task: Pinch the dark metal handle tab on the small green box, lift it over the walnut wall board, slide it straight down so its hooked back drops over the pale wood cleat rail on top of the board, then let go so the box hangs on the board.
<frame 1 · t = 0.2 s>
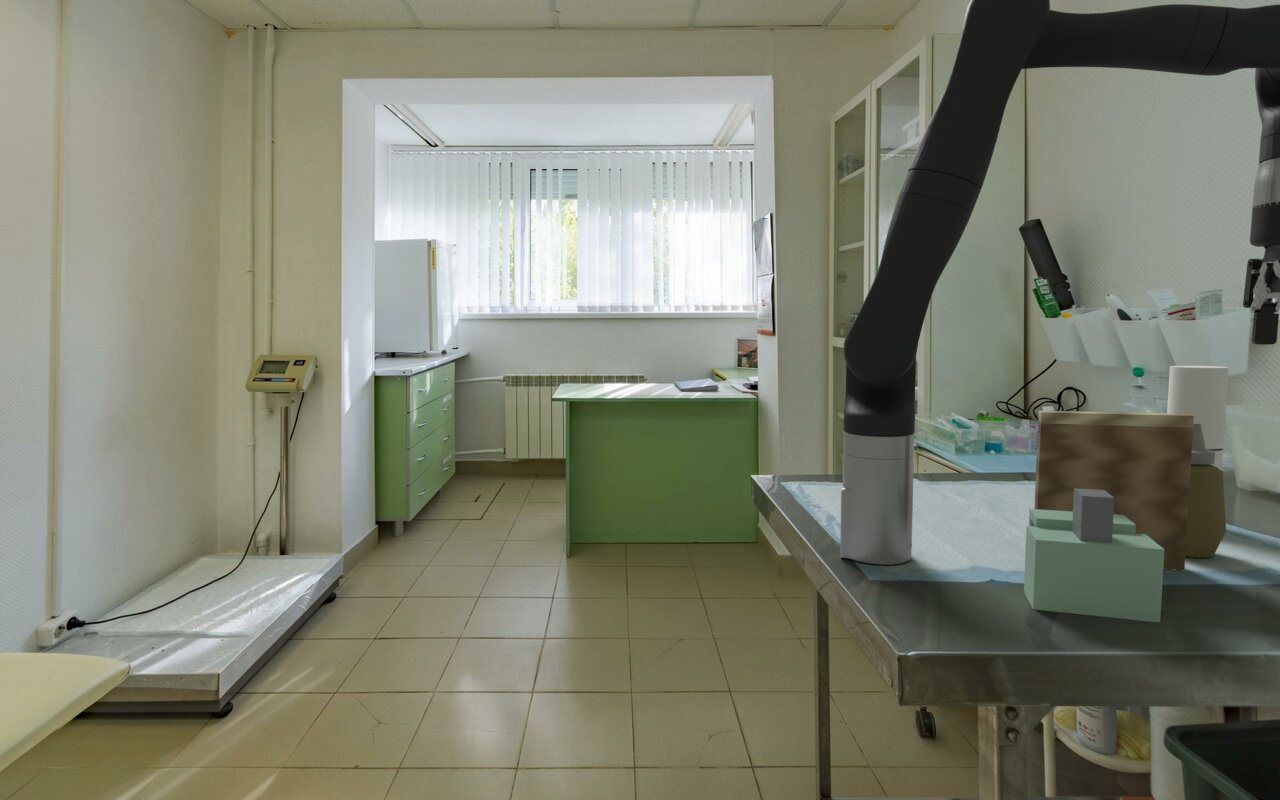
green box: (1087, 606, 81), on the table
wall board: (1105, 562, 96), on the table
squeeze bottle: (1187, 553, 100), on the table
cylindrical container: (1188, 527, 113), on the table
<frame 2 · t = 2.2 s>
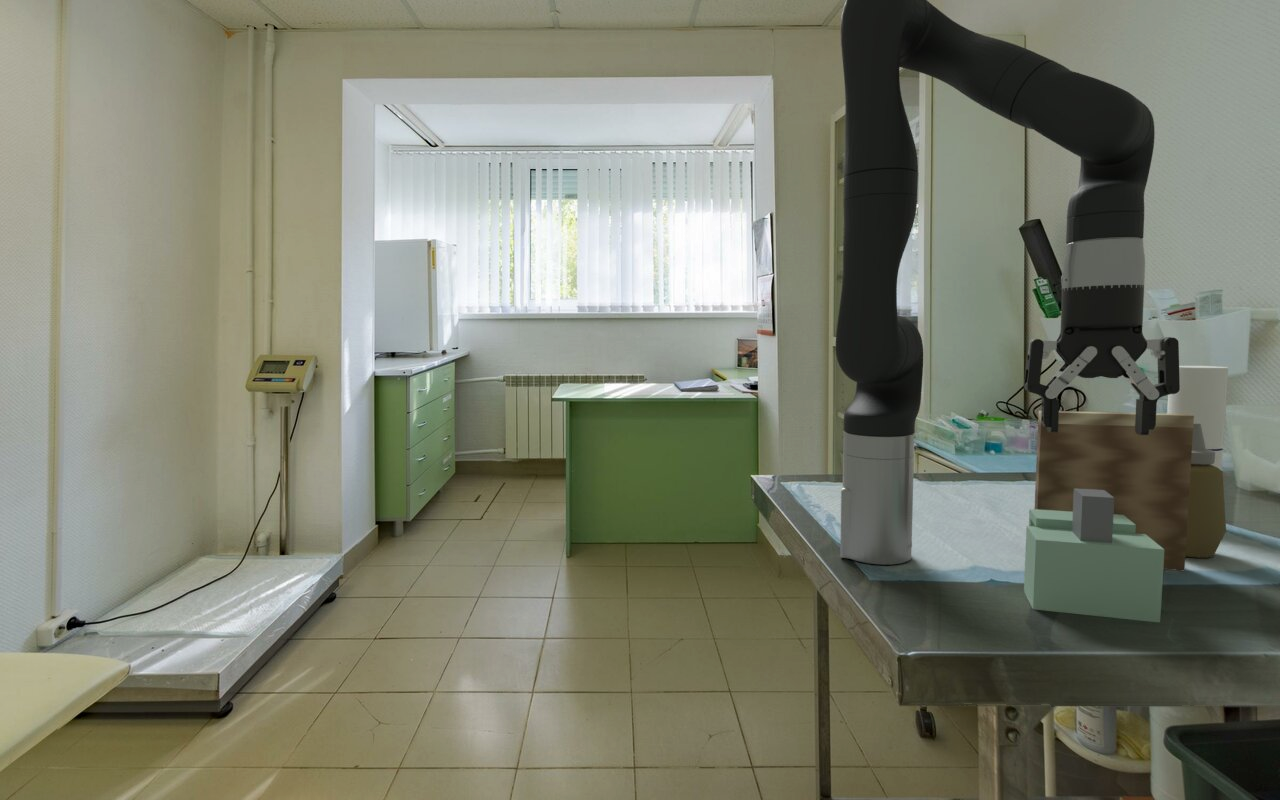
hand: (1096, 432, 80), 20 cm above the table, tool pointing down, fingers open, 8 cm apart
nothing on the table moved.
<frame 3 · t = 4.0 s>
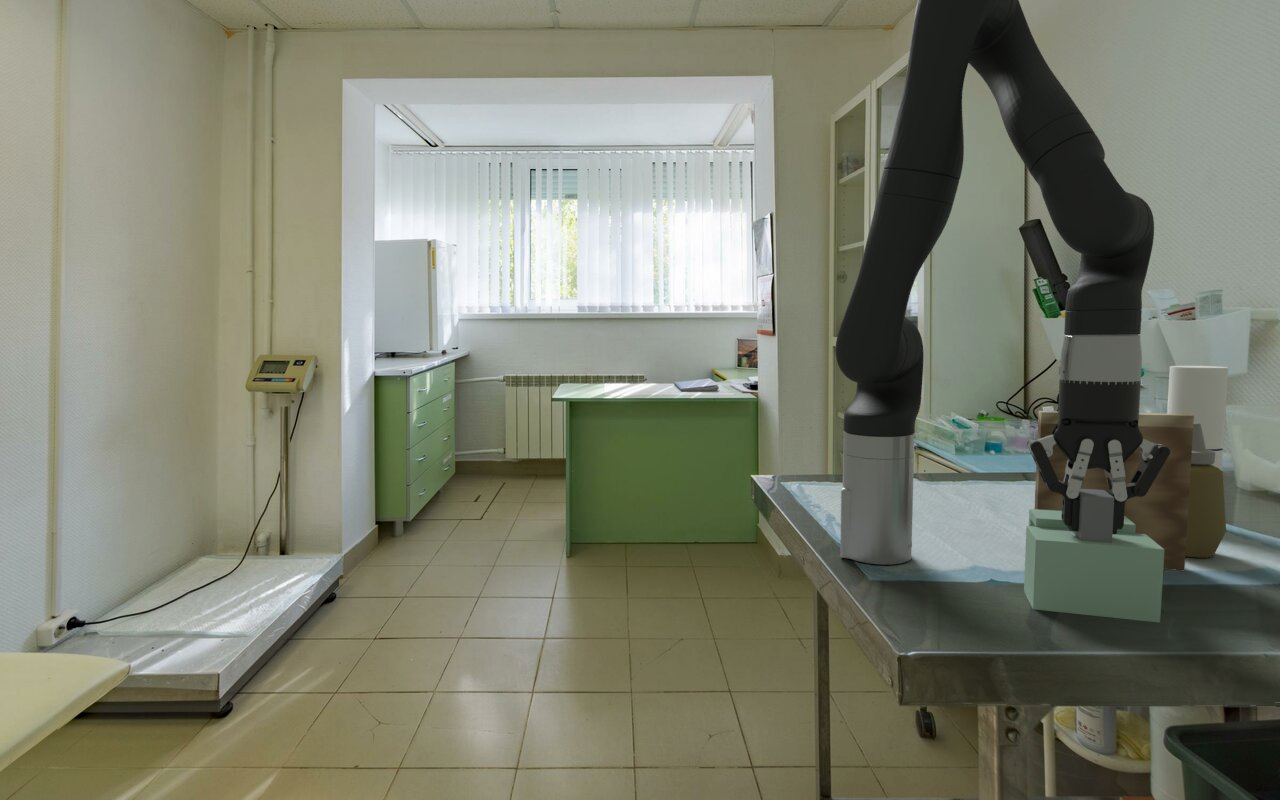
hand: (1091, 530, 81), 9 cm above the table, tool pointing down, fingers closed on green box, 3 cm apart
green box: (1087, 606, 81), on the table, touching gripper
everything else where it was.
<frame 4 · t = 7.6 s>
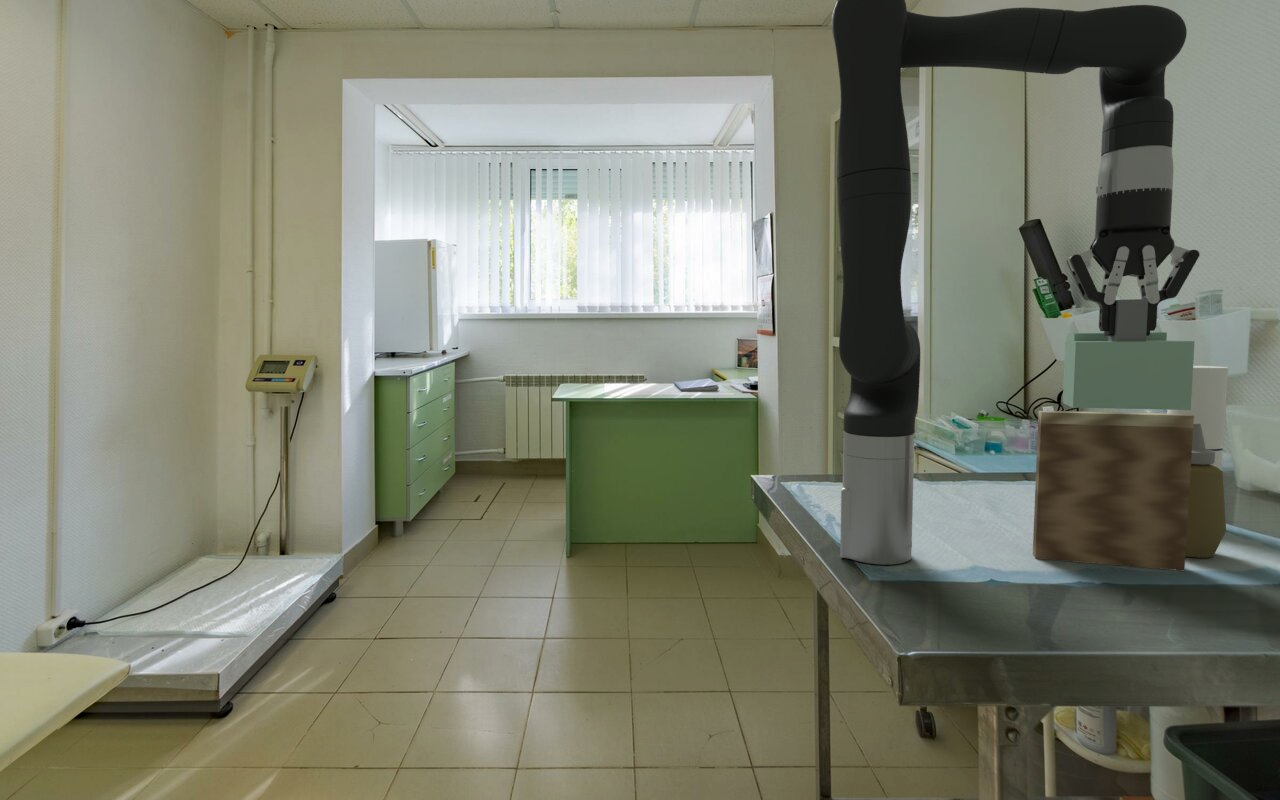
hand: (1126, 335, 88), 30 cm above the table, tool pointing down, fingers closed on green box, 3 cm apart
green box: (1123, 406, 89), point 21 cm above the table, touching gripper
everything else where it was.
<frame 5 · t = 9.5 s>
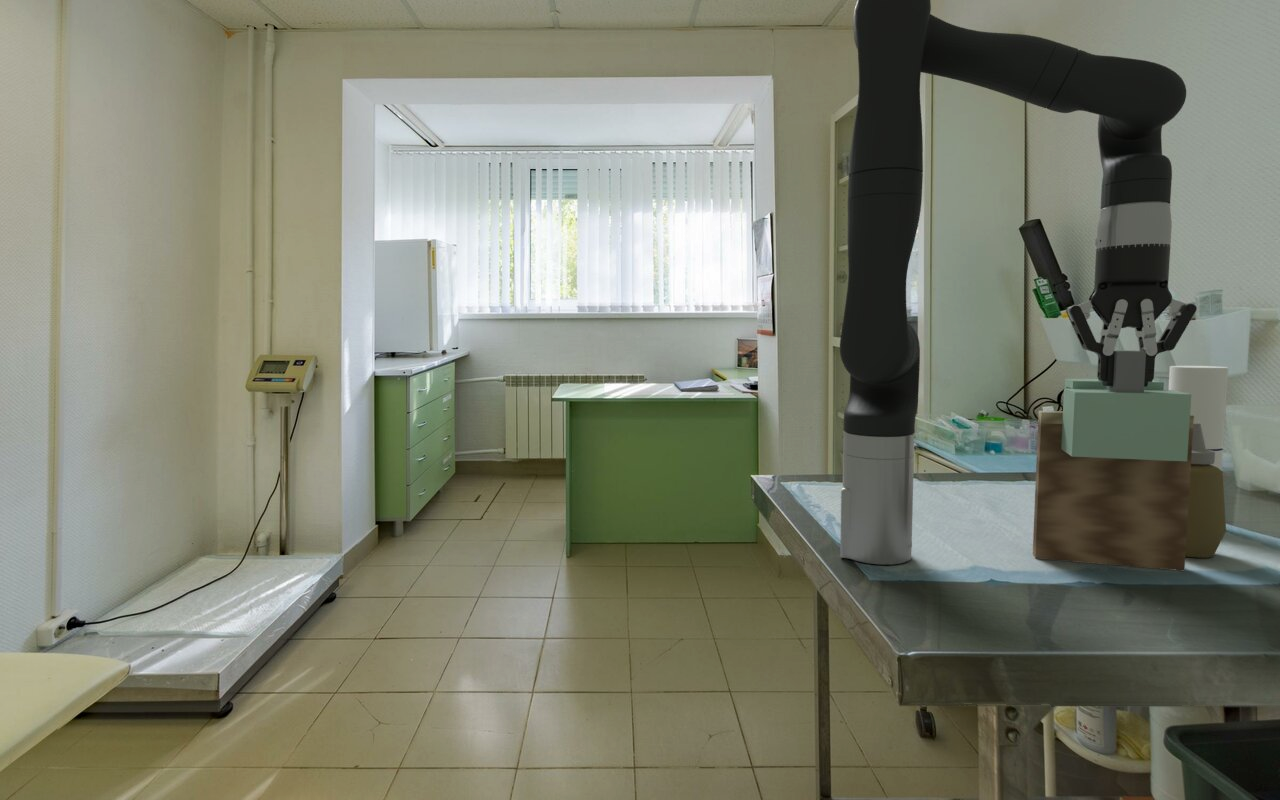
hand: (1124, 385, 90), 24 cm above the table, tool pointing down, fingers closed on green box, 3 cm apart
green box: (1120, 454, 90), point 15 cm above the table, touching gripper
everything else where it was.
when the fingers open (21 cm above the table, at t = 11.2 s): green box moves 1 cm, resting on wall board.
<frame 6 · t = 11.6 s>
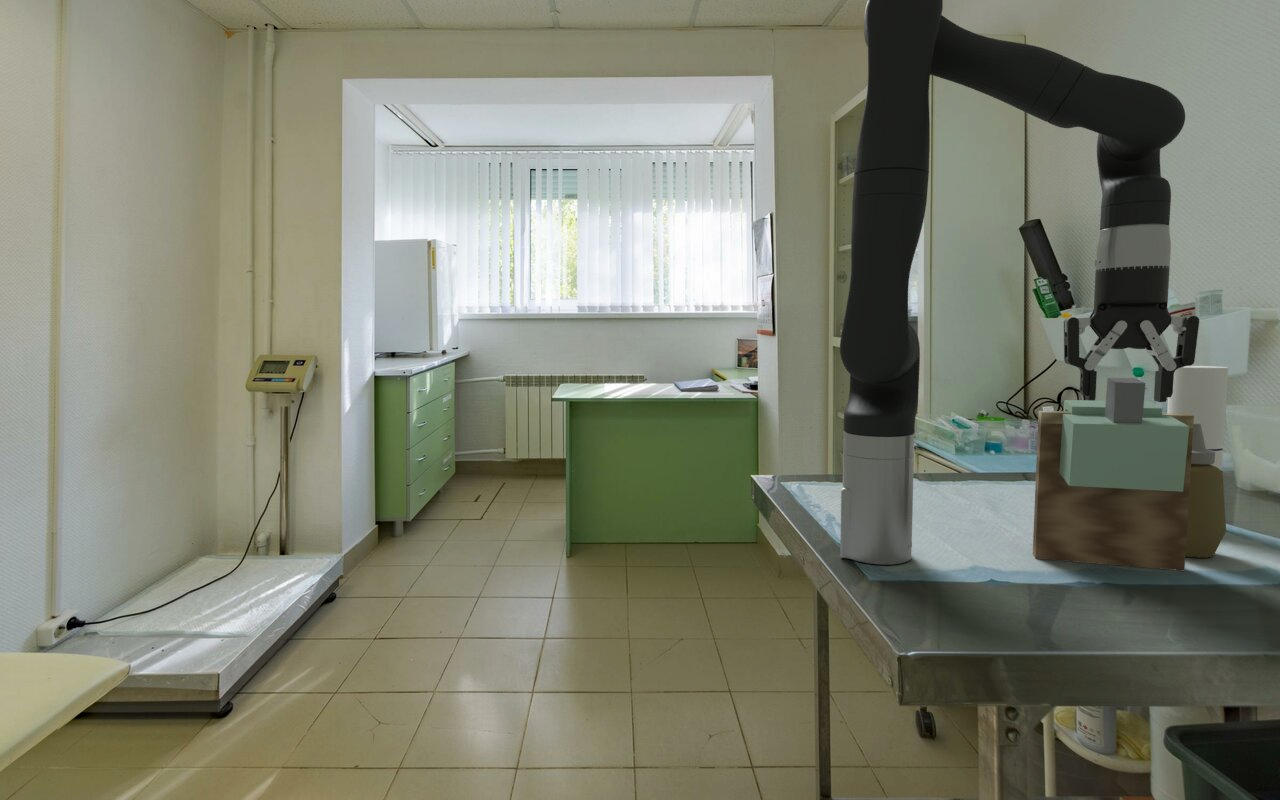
hand: (1124, 400, 90), 22 cm above the table, tool pointing down, fingers open, 7 cm apart
green box: (1117, 481, 91), point 12 cm above the table, tilted 5°, touching wall board
everything else where it was.
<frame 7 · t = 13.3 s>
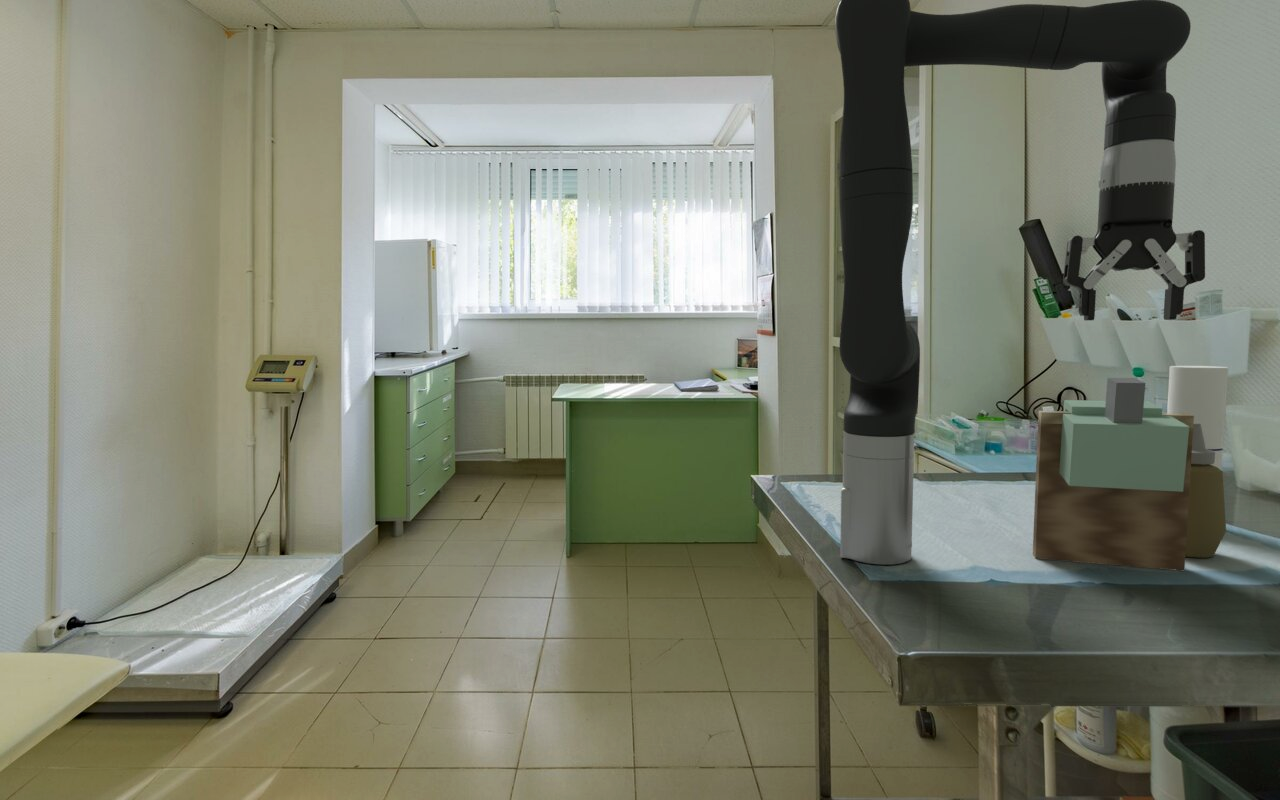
hand: (1129, 320, 89), 32 cm above the table, tool pointing down, fingers open, 8 cm apart
nothing on the table moved.
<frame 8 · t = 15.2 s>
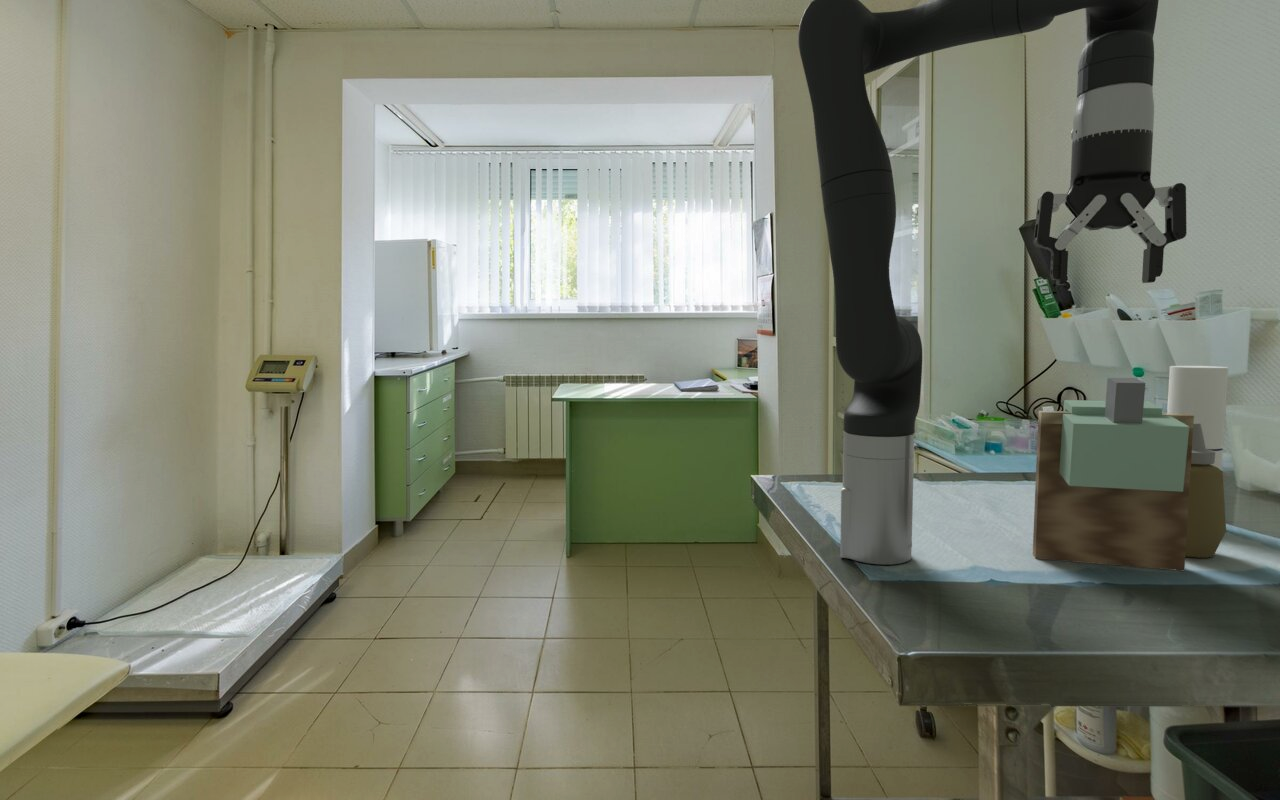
hand: (1104, 283, 81), 36 cm above the table, tool pointing down, fingers open, 8 cm apart
nothing on the table moved.
at the end: green box 0.8 cm from the target spot on the wall board, point 11.7 cm above the wall board's base; the gripper is holding nothing; green box tilted 5° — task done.
